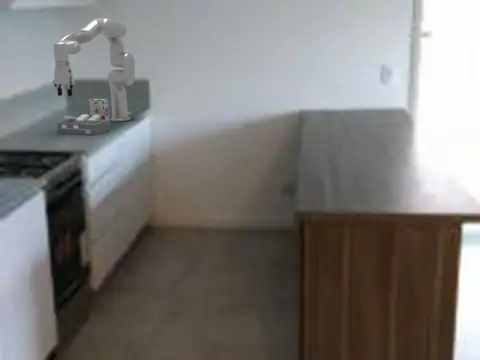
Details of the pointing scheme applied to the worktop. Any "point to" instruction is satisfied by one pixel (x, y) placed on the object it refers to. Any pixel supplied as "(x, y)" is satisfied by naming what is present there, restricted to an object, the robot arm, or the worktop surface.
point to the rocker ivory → (82, 118)
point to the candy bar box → (99, 108)
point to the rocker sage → (94, 118)
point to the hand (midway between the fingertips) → (65, 95)
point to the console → (83, 127)
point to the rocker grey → (70, 117)
